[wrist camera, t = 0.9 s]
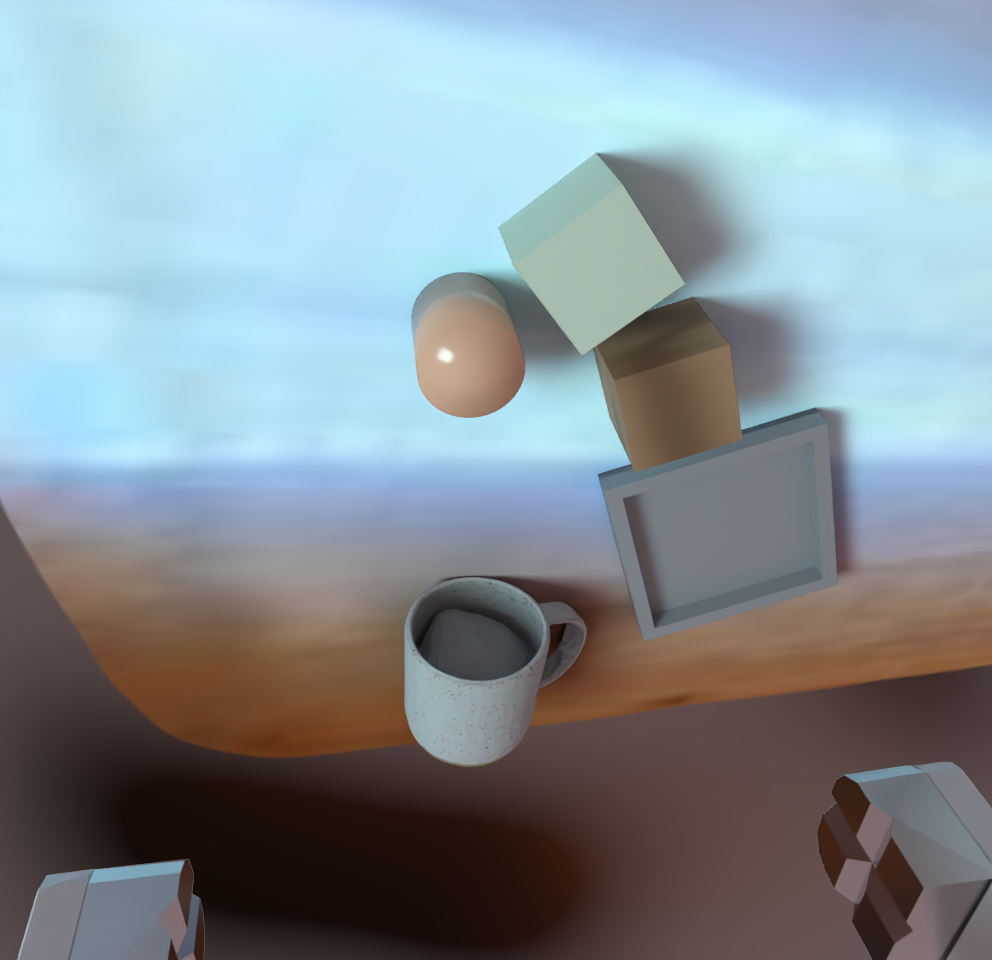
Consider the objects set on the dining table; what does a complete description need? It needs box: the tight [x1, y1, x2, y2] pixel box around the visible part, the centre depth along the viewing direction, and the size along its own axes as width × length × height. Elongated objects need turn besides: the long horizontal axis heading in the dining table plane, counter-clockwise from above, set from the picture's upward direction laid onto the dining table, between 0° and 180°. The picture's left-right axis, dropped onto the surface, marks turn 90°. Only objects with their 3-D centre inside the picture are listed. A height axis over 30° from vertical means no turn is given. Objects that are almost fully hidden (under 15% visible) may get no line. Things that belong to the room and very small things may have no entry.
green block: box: [498, 153, 685, 355], centre depth 36 cm, size 5×5×4 cm
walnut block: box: [593, 297, 742, 473], centre depth 39 cm, size 5×5×5 cm
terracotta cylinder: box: [411, 273, 525, 418], centre depth 37 cm, size 4×4×5 cm
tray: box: [598, 408, 838, 641], centre depth 47 cm, size 12×12×2 cm
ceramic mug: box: [405, 577, 587, 767], centre depth 47 cm, size 11×8×8 cm
